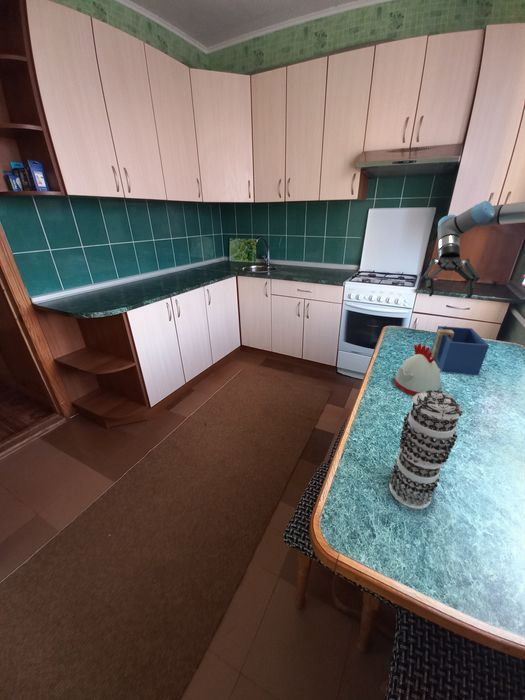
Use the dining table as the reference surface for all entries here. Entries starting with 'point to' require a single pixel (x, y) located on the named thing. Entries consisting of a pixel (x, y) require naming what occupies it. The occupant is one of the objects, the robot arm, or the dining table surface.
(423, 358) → the kitchen timer
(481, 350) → the blue bin
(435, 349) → the wood clip
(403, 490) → the decorative candle
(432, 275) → the robot arm
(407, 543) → the dining table surface
